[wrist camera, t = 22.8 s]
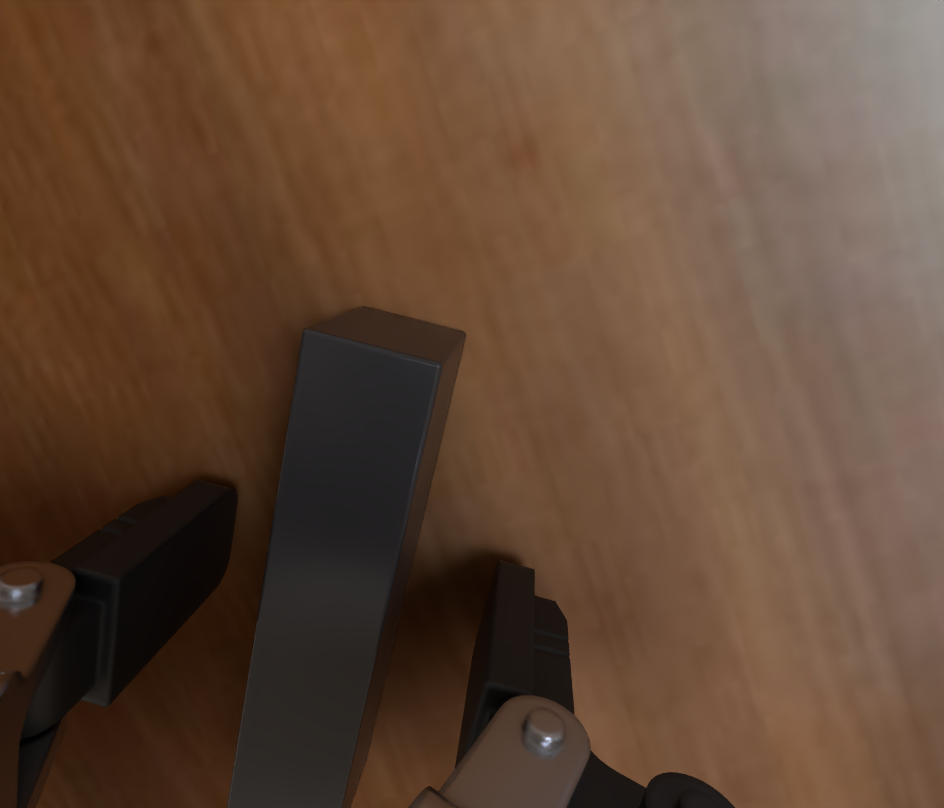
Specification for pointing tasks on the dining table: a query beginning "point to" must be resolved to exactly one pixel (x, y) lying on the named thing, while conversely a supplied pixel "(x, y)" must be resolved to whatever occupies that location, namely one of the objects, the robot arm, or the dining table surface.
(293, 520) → the screwdriver
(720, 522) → the dining table surface
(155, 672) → the dining table surface
